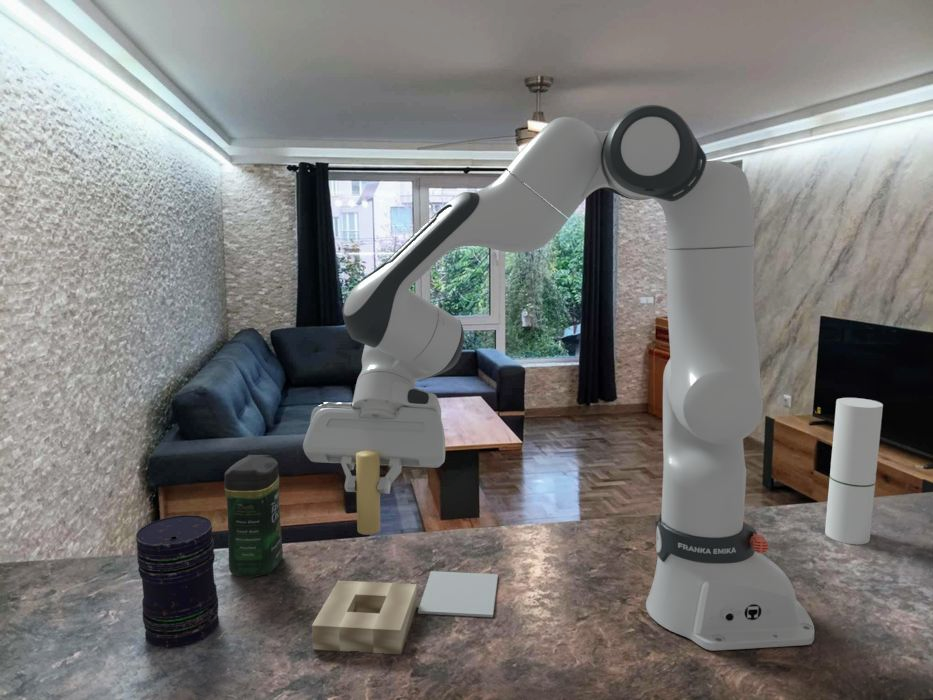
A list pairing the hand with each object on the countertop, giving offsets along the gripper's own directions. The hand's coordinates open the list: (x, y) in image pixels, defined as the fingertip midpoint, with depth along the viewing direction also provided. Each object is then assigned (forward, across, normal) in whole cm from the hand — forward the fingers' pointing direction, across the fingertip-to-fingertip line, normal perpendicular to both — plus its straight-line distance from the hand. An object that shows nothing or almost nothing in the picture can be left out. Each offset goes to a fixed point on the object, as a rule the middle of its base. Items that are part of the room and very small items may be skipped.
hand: (366, 491), depth 94 cm
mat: (+7, +12, +21) cm, 25 cm away
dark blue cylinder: (+17, -26, +12) cm, 33 cm away
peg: (+4, 0, +5) cm, 6 cm away
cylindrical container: (-13, +80, +40) cm, 90 cm away
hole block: (+14, 0, +14) cm, 20 cm away
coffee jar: (+4, -23, +26) cm, 35 cm away
